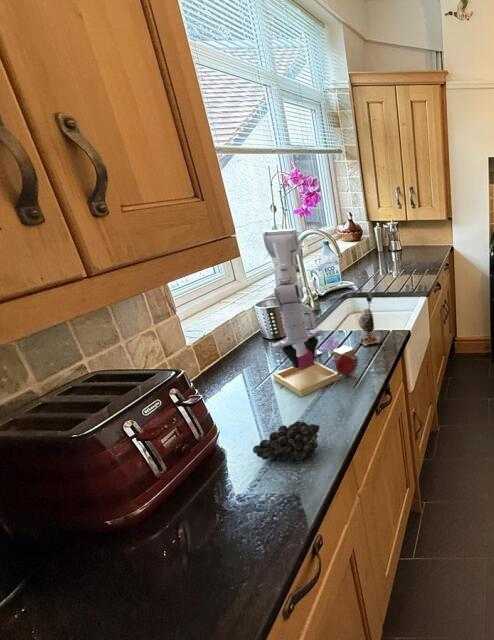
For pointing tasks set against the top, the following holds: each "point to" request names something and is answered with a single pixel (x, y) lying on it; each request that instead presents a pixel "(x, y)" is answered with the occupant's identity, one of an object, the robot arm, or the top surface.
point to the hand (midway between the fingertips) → (303, 363)
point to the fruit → (289, 442)
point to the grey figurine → (368, 324)
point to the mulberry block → (304, 358)
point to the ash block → (345, 350)
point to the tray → (306, 378)
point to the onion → (345, 365)
